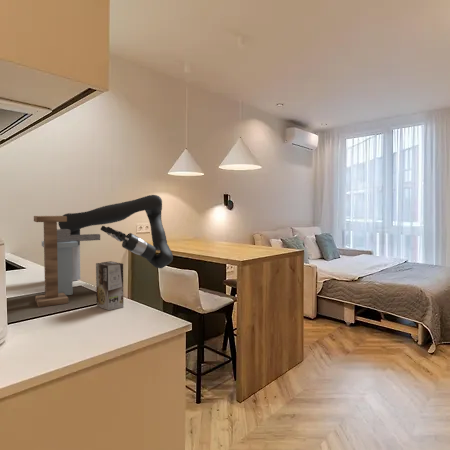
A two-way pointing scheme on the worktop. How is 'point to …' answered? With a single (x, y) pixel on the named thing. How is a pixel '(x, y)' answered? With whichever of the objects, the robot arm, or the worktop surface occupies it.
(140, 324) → the worktop surface
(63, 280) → the slate stand
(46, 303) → the wooden pedestal stand
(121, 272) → the coffee box
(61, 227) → the robot arm
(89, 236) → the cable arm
